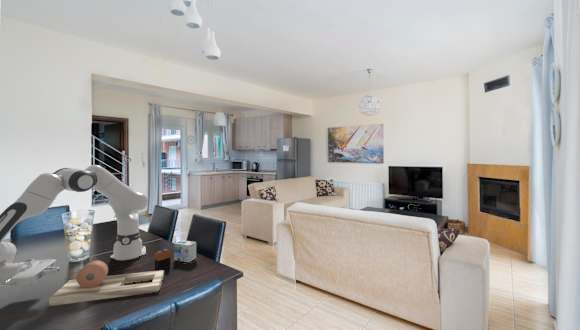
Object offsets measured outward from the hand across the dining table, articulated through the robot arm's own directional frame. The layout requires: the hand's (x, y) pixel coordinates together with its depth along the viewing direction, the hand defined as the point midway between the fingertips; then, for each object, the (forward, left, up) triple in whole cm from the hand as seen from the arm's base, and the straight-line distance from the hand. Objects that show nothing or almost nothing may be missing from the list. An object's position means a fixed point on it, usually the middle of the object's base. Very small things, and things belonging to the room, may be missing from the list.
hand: (58, 270), depth 115 cm
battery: (-19, +38, -11) cm, 44 cm away
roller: (0, +12, -3) cm, 13 cm away
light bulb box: (-27, +49, -11) cm, 57 cm away
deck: (0, +20, -11) cm, 23 cm away
